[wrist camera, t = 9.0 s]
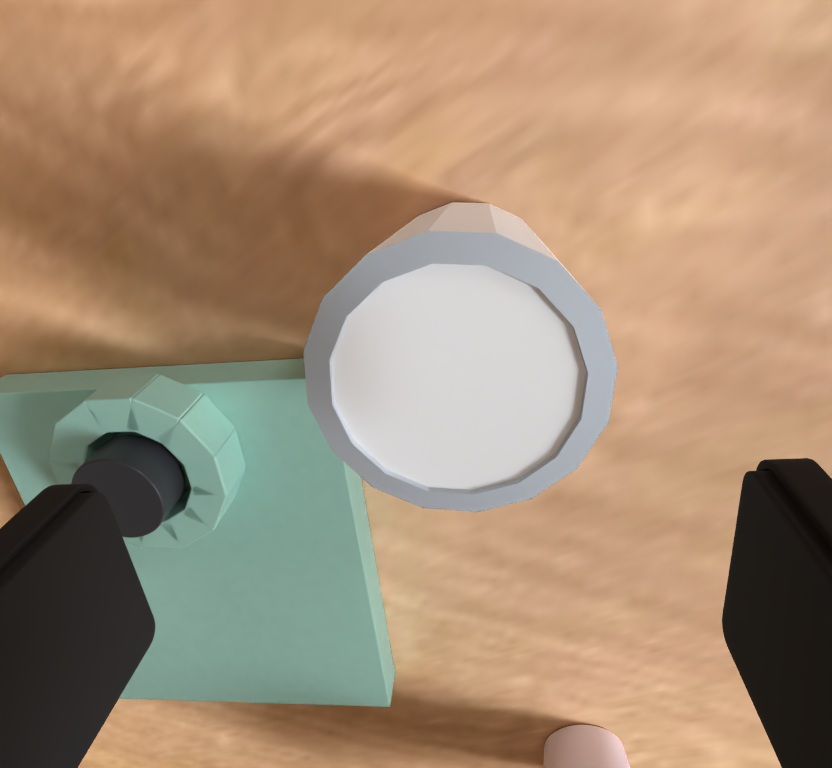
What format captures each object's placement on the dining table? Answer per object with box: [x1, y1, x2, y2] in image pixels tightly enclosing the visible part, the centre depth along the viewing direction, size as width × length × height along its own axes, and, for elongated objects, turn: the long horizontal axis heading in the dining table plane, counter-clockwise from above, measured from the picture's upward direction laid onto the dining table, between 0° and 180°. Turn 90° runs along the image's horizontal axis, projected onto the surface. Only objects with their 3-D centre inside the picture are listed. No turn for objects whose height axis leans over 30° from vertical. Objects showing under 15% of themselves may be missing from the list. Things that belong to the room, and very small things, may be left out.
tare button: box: [71, 435, 185, 538], centre depth 19 cm, size 3×3×2 cm
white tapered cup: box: [303, 202, 618, 512], centre depth 16 cm, size 7×7×7 cm
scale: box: [0, 358, 395, 707], centre depth 24 cm, size 16×13×4 cm
